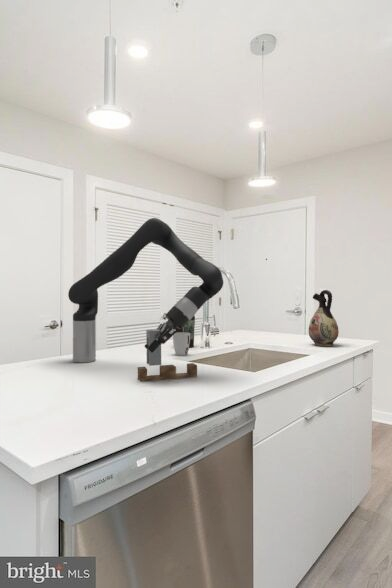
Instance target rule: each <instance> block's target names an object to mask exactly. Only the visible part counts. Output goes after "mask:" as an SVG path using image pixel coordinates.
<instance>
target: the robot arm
mask: <svg viewBox="0 0 392 588" xmlns="http://www.w3.org/2000/svg"><path fill="white" fill-rule="evenodd" d="M150 243H153V244H154V245H156V246H160V247H161V248H163V249H165V250H166V251H168V252H169V253H170V254H172V256H174V258H175V259H176V260H177V262H178V263H179V264H180V265H181V266H182V267H183V268H184V269H185V270H187V271H188V272H189V273H190V274H192V275H193V276H198V277H199V278H200V279H201V280H202V283H201V284H200V285H199V286H193V287H191V288H190V289H189V290H188V291H187V292H186V293H185V294H184V296H182V298H180V299H179V300H177V302H175V304H174V305H173V306H172V307H171V308H170V309H169V310H168V312H167V313H166V314H165V318H166V319H167V321H165V322H163V323H159V325H158V326H157V328H156V329H158V330H161V331H160V333H159V336H158V337H157V338H156V339H155V340H156V341H154V342H153V343H152V344H151V345H150V346H149V347H148V350H149V351H150V352H154V351H155V350H156V349H157V347H158V346H159V345H161V346H162V345H165V344H166V342H168V340H170V339H171V338H173V335H174V334H175V333H176V331H175V329H176V327H177V328H178V329H182V328H183V327H184V326H185V325H186V324H187V323H188V322H189V321H190V320H191V318H192V317H193V316H195V315H196V314H197V312H198V311H199V310H200V308H202V306H204V304H205V303H206V302H207V301H209V300H210V299H212V298H214V297H215V295H217V294H218V293H219V292H220V291H221V290H222V288H223V286H224V279H223V274H222V271H221V270H220V269H219V267H217V265H215V264H214V263H211V262H210V261H209V260H206V259H204V258H203V257H202V256H201V255H200V254H199V253H197V252H196V251H195V250H194V249H192V248H191V247H189V246H188V245H187V244H186V243H184V242H183V241H182V240H181V239H180V238H179V237H178V236H177V234H176V233H175V232H174V231H173V229H172V228H171V227H170V226H169V224H168V223H166V222H165V221H163V220H161V219H159V218H157V217H152V218H149V219H147V220H146V221H145V222H144V223H143V224H142V225H141V226H140V227H139V228H138V229H137V230H136V231H135V232H134V233H133V234H132V236H130V237H129V238H128V239H127V240H126V241H125V242H123V244H122V245H121V246H119V247H118V248H117V249H116V250H114V251H113V252H111V253H110V255H108V256H107V257H106V258H105V259H104V260H103V261H102V262H100V264H98V265H97V266H96V267H95V268H94V269H92V270H91V271H90V272H89V273H88V274H86V275H85V276H84V277H82V278H81V279H79V280H77V281H76V282H74V283H73V284H72V285H70V287H69V289H68V294H67V295H68V299H69V301H70V302H71V303H73V304H76V305H78V309H77V310H76V312H74V313H72V362H73V363H92V362H95V361H96V360H97V359H96V358H97V354H96V349H97V348H96V347H97V346H96V345H97V343H96V336H97V335H96V331H97V330H96V329H97V328H96V323H97V322H96V318H97V317H96V316H97V314H98V308H99V307H98V306H99V291H98V289H99V288H101V287H103V286H104V285H106V284H109V283H111V282H113V281H114V280H118V279H119V278H120V277H121V276H123V275H124V274H126V272H128V271H129V270H130V269H131V268H132V267H133V266H134V263H135V262H136V259H137V257H138V255H139V253H140V252H141V251H142V250H144V248H145V247H147V246H148V245H149V244H150ZM144 348H145V349H146V350H147V343H145V344H144Z"/></svg>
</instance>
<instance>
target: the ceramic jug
mask: <svg viewBox="0 0 392 588" xmlns="http://www.w3.org/2000/svg"><path fill="white" fill-rule="evenodd" d="M326 295H327V298H326V297H325V296H326ZM312 299H313V300H315V301H317V302H318V303H319V304H318V308H317V309H316V311H315V312H314V314H313V315H312V318H311V319H310V321H309V324H308V325H309V326H308V335H309V338H310V339H311V340H312V342H313V343H314V346H316V347H332V346H334V343H335V342H336V341H337V339H338V337H339V325H338V322H337V321H336V319H335V317H334V315H333V314H332V312H331V308H332V302H333V295H332V292H331V291H330V290H327V289H325V290H322V291H320V293H319V294H318V293H317V292H316V293H314V294H313V296H312Z"/></svg>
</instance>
